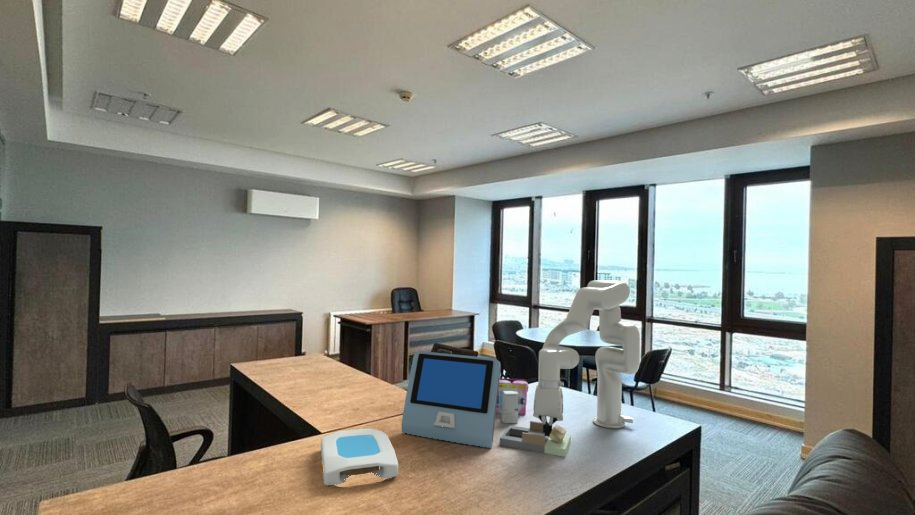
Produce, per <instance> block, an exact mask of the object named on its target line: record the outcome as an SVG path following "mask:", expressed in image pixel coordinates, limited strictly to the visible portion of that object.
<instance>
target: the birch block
mask: <svg viewBox="0 0 915 515" xmlns="http://www.w3.org/2000/svg"><path fill="white" fill-rule="evenodd" d="M566 433H567V429H566V428H564V427H562V426H561V425H559V424H554V426H552V431H551V434H550V436H549V438H551V439H552V440H554V441H556V442H557V443H559V444H560V443H561V441H562V440H563V438H564V436H565V434H566Z"/></svg>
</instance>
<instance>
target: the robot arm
mask: <svg viewBox="0 0 915 515" xmlns="http://www.w3.org/2000/svg"><path fill="white" fill-rule="evenodd" d="M630 290H631V289H630V287H629V285H628V284H627V283H626V282H625V281H623V280H607V279H606V280H605V279H597V280H596V279H595V280H590V281H589V282H588V284H587V286H586V287H580V288H579V289H578V290H577V291H576V293H575V295H574V299H573V300H572V304H571V305H570V307H569V311H568V313H567V314H566V317H565V319H564V320H562V321H561V322H560V323H558V324H557V325H556V326H555V327H554V328H553V329H552V330H550V332H549V333H548V334H547V336H546V338H545V341H544V343H543V346H542V348H541V349H540V350H539V351H538V378H537V380H538V383H537V385H536V386H535V387H536V388H535V392H534V398H533V413H532V416H533V417H535V418H537V419H539V420H540V422H542V424H543V433H545V436H548V437H549V436H550V434H551V431H552V429H553V425H555V423H556V422H562V421H563V420H564V395H563V389H562V387H564V385H565V384H564V381H561V378H560V375H561V370H562V369H563V370H565V369H566V370H568V369H569V370H570V369H574V368H575V367H577V366H578V364H579V362H580V355H579V353H578V351H577V350H575V349H574V348H571V347H566V346H563V345H560V344H561V342H562V341H563V340H564V339H565V338H567V337H569V336H571V335H574V334H578V333H580V332H583V331H585V330H586V329H587V328H588V326H589V324H590V321H591V319H592V316H593V313H594V311H595V310H597V311H598V312H599V313H598V314H599V315H598V317H599V319H598V324H599V325H598V326H599V327H598V329H599V333H598V334H599V339H600V341H601V342H603V343H605V344H607V346H606V345H603V346H601V347H599V348H597V350H596V351H595V355H594V356H595V364H596V372H597V384H596V385H597V394H596V396H597V397H596V399H597V400H596V416H594V417H593V418H592V422H593V424H595V425H597V426H600V427H602V428H607V429H622V428H625V427H626V423H629V424H634V417H630V416H626V415H624V414H623V412H622V390H623V389H622V388H623V387H622V386H623V385H622V384H623V383H622V378H621V375H620V374H619V373H621V374H625V375H635V374H636V373H637V372H639V371H638V370H639V368H640V361H641V359H640V358H641V353H640V352H641V351H640V350H641V345H640V344H641V343H640V342H641V336H640V331H639V329H638V327H637V326H636V325H635V324H633V323H630V322H624V321H622V314H621V307H620V305H622V304H623V303H625V302H626V301H627V300H628V299H629V296H630V295H631V294H630V293H631V292H630ZM608 344H609V346H608ZM610 345H614V346H620V347H622V348H619V347H614V346H610ZM548 417H549V420H547V419H548Z"/></svg>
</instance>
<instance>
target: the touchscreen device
mask: <svg viewBox="0 0 915 515" xmlns="http://www.w3.org/2000/svg"><path fill="white" fill-rule="evenodd" d="M501 364H502V363H501V362H500V361H499V360H498V359H496V358H494V357H493V358H492V357H483V356H476V355H475V356H474V355H463V354H462V355H461V354H454V353H444V352H443V353H442V352H441V353H440V352H432V351H423V350H422V351H421V350H418V351H416V352H415V353H414V354H413V357H412V363H411V368H410V373H409V379H408V384H407V389H406V394H405V400H404V405H403V406H404V407H403V412H402V417H401V418H402V419H401V432H402V433H403V434H405V433H407V434H406V435H409V434H412V435H411V436H414V435H417V436H416V437H419V436H421V438H425V437H427V438H426V439H431V438H433V439H432V440H437V439H439V440H438V441H442V440H445V442H448V441H450V442H451V443H454V442H456V444H460V443H463V444H462V445H466V444H468V446H472V445H475V446H474V447H478V446H480V448H485V447H486V448H487V449H491V448H493V443H494V442H493V441H494V431H495V422H496V414H497V413H496V407H497V398H498V389H499V380H500V378H501V370H502V369H501V368H502V365H501ZM442 426H443V427H442ZM450 442H449V443H450ZM486 448H485V449H486Z"/></svg>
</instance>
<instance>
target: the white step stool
mask: <svg viewBox="0 0 915 515" xmlns="http://www.w3.org/2000/svg"><path fill="white" fill-rule="evenodd" d="M396 454H397V453H396V451H395V448H394V446H393V445H392V443H391V440H390V438H389V436H388V434H386V433H385V432H384V431H382V430H380V429H374V428H370V427H369V428H359V429H358V428H357V429H348V430H339V431H338V430H337V431H335V432H332V433H329V434H327V435H324V436H321V438H320V455H321V456H320V457H322V460H321V463H322V462H323V465H324V475H323V474H322V478H323V485H325V486H328V485H335V484H336V485H337V484H341V483H344V482H346V481H345V480H346V478H348V477H349V476H351V475H349V476H348V475H346V474H341V472H345V471H348V470H355V469H356V470H358V469H363V468H372V467H378V466H380V470H378V469H376V470H377V471H376V470H372V471H373V472H372V473H374V475H375V474H376V473H377V474H376V476H377V475H378V476H379V475H380V476H379V477H381V478H390V479H393V478H394V477H397V476H398V474H399V461H398V459H397V455H396ZM369 472H370V473H371V471H369ZM392 477H393V478H392ZM344 479H345V480H344Z"/></svg>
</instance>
